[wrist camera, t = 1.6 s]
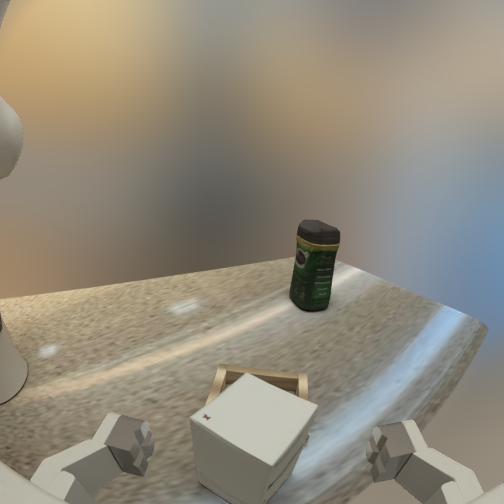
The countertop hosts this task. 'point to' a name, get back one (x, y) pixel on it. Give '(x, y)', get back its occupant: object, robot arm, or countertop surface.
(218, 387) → the corral
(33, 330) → the countertop surface
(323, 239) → the coffee jar
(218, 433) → the supplement box
